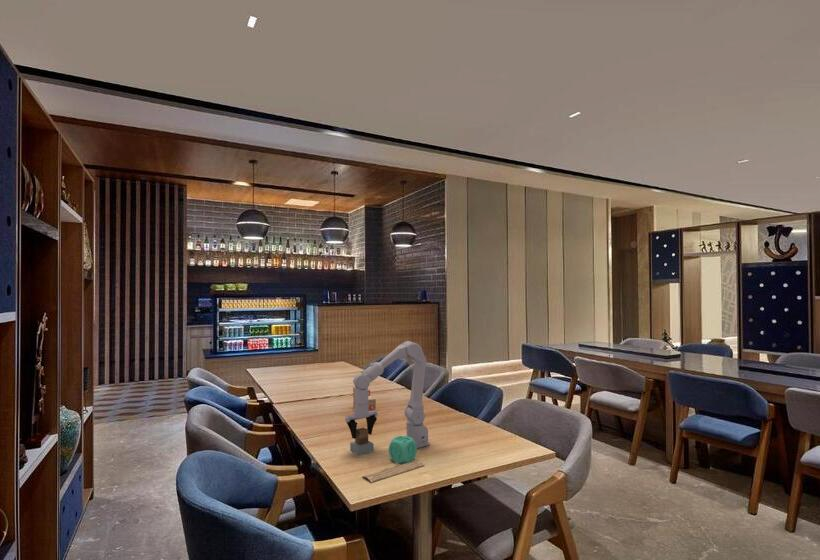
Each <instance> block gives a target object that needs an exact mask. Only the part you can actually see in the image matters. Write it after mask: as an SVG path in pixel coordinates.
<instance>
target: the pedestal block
mask: <svg viewBox="0 0 820 560" xmlns="http://www.w3.org/2000/svg"><path fill="white" fill-rule="evenodd" d="M349 446H350V447H349V448H350V451H351V452H353V453H354V454H356V455H359V456H360V455H363V454H368V453H371V452H374V451H375V450H374V448H375V446H374V442H372V441H371V440H368V443H366V444H362V445H359V444H357V443H355V440H354V441H350V445H349Z"/></svg>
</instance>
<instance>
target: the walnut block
mask: <svg viewBox="0 0 820 560" xmlns="http://www.w3.org/2000/svg"><path fill="white" fill-rule="evenodd" d="M354 441H355V443H357V444H359V445H362V444H366V443H368V441H369V434H368V429H367V427H366V428H365V427H358V428H356V438H355V439H354Z"/></svg>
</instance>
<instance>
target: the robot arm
mask: <svg viewBox="0 0 820 560" xmlns="http://www.w3.org/2000/svg"><path fill="white" fill-rule="evenodd" d="M400 358H409V359H410V360H411V361H412V363H413V371H412V380H411V381H412V382H411V386H410V387H411V388H410V396H409V400H408V402H407V405H406V408H405V410H404V416H405V417H406V418H407V419H406V436H408V437H411V438H412V439H413V440H414V441H415V443H416V446H417V449H419V448H422V447H423V448H424V447H426V446H429V445H431V444H430V442H429V429H428V427H427V426H425V424H424V422H425V421H424V420H425V419H426V416H425V411H424V410H425V409H424V404H423V395H424V388H425V387H424V386H425V385H424V384H425V376H426V369H427V358H426V356H425V354H424V352H423V348H422V347H421V345H419V343H417V342H413V341H411V340H405V341H403V342H402V343H400V344H399V345H398V346H396V347H395V348H394V349H393V350H392V351H391V352H389V354H387V355H386V356H385V357H384V358H382V360H380V361H379V362H377V361H374V362H371V363H370V364H369V366H368V367H367V368H365V369H362V370H361V371H360V373H357V374H356V375H354V378H353V380H352V383H353V385H354V387H355V409H354V413H351V414H349V415H345V421H344V422H346V424H347V426H348V428H349V431H350V434H351V438H352V439H354V440H355V438H356V429H358V428H357V426H358V422H357V420H361V419H366V429H368V435H370V436H371V435H372V433H373V429H374V425H375V424H376V422H377V420H378V418H377V416H378V410H374V411H368V389H369V387H370V385H371V383H372V382H373V381H374V380H376V379H377V378H378V377H380V376H381V375H382V374H383V373H384V369H385V368H387V367H388V366H390V365H391V364H392V363H394V362H396V361H397V360H398V359H400Z"/></svg>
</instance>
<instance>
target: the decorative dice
mask: <svg viewBox="0 0 820 560" xmlns="http://www.w3.org/2000/svg"><path fill="white" fill-rule="evenodd" d="M417 449H418V448H417V446H416V443H415V441H414V440H413V439H412V438H411V437H408V436H407V435H400V436H399V435H398V436H395V437H393V438H392V439H391V441H390V443H389V445H388V454H389V457H390V458H391V460H392V462H394V463H395V464H396V463H397V464H405V463H408V462H411V461H414V459H415V458H416V455H417V451H418V450H417Z"/></svg>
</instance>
